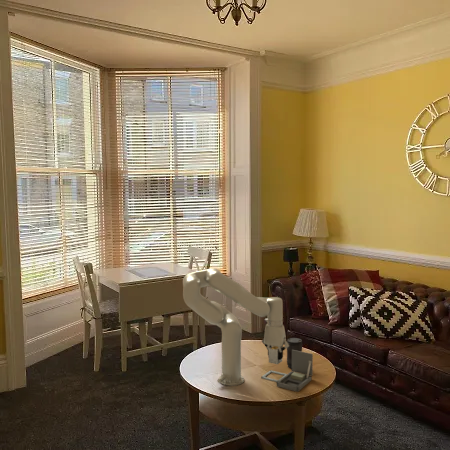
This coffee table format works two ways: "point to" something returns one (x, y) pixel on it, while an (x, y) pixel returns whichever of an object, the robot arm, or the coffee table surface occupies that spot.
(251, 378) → the coffee table surface
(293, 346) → the camera lens
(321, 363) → the coffee table surface
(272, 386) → the coffee table surface
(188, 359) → the coffee table surface
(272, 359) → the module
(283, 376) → the tray
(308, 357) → the case
